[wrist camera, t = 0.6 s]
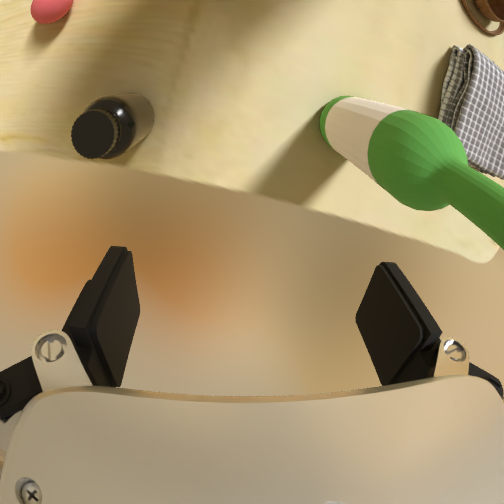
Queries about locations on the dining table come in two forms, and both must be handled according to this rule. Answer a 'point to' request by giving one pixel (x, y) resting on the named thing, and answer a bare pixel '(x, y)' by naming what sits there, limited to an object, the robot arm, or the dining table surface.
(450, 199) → the wine bottle
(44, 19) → the ball
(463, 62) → the towel
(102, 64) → the dining table surface
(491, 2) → the place setting
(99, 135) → the supplement bottle
